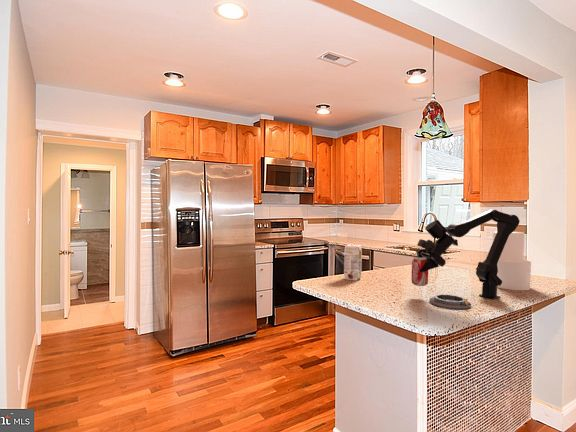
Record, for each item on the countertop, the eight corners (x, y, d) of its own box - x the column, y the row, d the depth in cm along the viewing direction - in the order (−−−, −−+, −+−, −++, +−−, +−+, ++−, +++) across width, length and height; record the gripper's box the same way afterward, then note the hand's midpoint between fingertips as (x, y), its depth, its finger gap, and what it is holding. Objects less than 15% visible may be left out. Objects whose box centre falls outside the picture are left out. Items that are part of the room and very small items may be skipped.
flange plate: (445, 297, 161) (445, 288, 161) (479, 306, 148) (479, 296, 147) (421, 301, 153) (421, 292, 153) (454, 311, 140) (455, 301, 139)
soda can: (428, 287, 156) (428, 259, 156) (411, 285, 158) (411, 259, 158) (427, 283, 163) (428, 257, 162) (411, 282, 165) (411, 256, 165)
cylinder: (483, 283, 191) (485, 231, 190) (507, 281, 197) (509, 231, 196) (512, 291, 175) (514, 234, 174) (538, 289, 180) (540, 234, 179)
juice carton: (357, 281, 192) (357, 246, 191) (342, 279, 197) (343, 245, 196) (362, 279, 198) (363, 245, 198) (348, 277, 203) (348, 243, 202)
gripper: (420, 231, 169) (397, 254, 169) (439, 235, 151) (413, 261, 150) (435, 247, 170) (413, 271, 170) (456, 253, 151) (431, 279, 151)
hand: (416, 270), depth 160 cm, fingers closed on soda can, 7 cm apart
